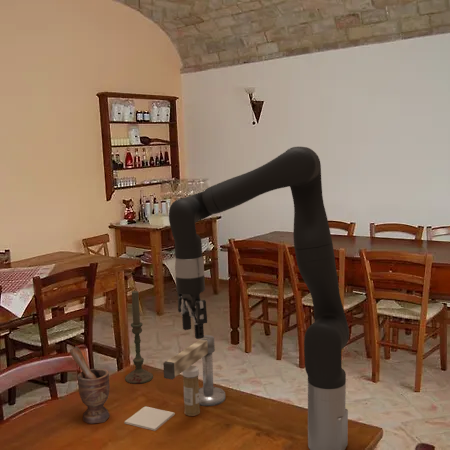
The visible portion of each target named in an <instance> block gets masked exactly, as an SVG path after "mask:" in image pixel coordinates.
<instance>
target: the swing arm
mask: <svg viewBox="0 0 450 450" xmlns="http://www.w3.org/2000/svg"><path fill="white" fill-rule="evenodd" d="M215 346H216V345H215V337H214V336H213V335H206V334H204V337H203V338H200V339H197V340H196V341H195V342H193V343H192V344H191V345H189V346H188V347H186V348H185V349H183V350H182V351H180V352H179V353H177V354H176V355H174V356H173V357H171V358H169V359H168V360H167V361H164V362H162V363H163V378H164V379H166V380H171V381H172V380H174V379H175V378H176V377H177V376H179V375H180V374H182V373H183V371H184V370H186V369H187V368H188V367H190V366H194V364H196V362H198V361H199V360H201V359H202V357H204V356H205V355H206V354H208V353H212V354H213V353H214V352H215V350H216V347H215Z"/></svg>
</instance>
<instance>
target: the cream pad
mask: <svg viewBox="0 0 450 450" xmlns="http://www.w3.org/2000/svg"><path fill="white" fill-rule="evenodd" d="M175 414H176V413H175V412H173V411H168V410H164V409H159V408H156V407H155V408H154V407H151V406H150V407H149V406H146V405H145V406H144V407H142V408H141V409H139V410H138V411H136V412H135V413H134V414H133V415H131V416H130V417H128V418H127V419H126V420H124V424H125V425H130V426H134V427H138V428H140V429H141V428H142V429H146V430H149V431H154V432H156V431H157V430H158V429H159V428H161V427H162V426H164V424H165V423H166V422H168V421H169V420H170V419H171V418H173V417H174V416H175Z"/></svg>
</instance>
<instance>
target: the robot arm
mask: <svg viewBox="0 0 450 450" xmlns="http://www.w3.org/2000/svg"><path fill="white" fill-rule="evenodd" d="M322 185H323V184H322V165H321V160H320V158H319V156H318V154H317V153H316V152H315V151H314V150H313V149H312V148H309V147H306V146H293V147H290V148H288V149H287V150H285V151H284V152H283V153H281V154H280V155H277V156H276V157H275V158H273V159H271V160H270V161H269V162H267V163H265V164H263V165H261V166H259V167H257V168H254V169H252V170H250V171H248V172H246V173H243V174H240V175H237V176H234V177H231V178H229V179H226V180H223V181H221V182H219V183H216V184H214V185H212V186H209V187H207V188H206V189H205V190H203V191H200V192H197V193H195V194H192V195H190V196H189V195H188V196H186V197H183V198H178V199H176V200H174V201H173V202H172V203H171V204H170V206H169V209H168V222H169V226H170V230H171V233H172V237H173V240H174V254H175V255H174V257H175V261H174V264H175V265H174V271H175V273H174V274H175V288H176V289H175V290H176V293H177V312H178V313H180V317H181V318H182V321H181V322H182V330H183V331H189V330H191V329H192V321H193V324H194V326H193V328H194V338H195V339H197V340H199V339H200V338H203V337H204V336H205V332H204V331H205V330H204V324H207V323H208V312H207V301H206V299H201V296H200V294H202V293H203V292H205V290H206V284H205V283H206V282H205V264H204V259H203V246H202V245H203V243H202V242H203V241H202V237H201V236H200V235H199V234H197V228H196V223H197V222H200V221H202V220H204V219H207V218H209V217H210V216H212V215H215V214H216V215H217V214H220V213H224V212H226V211H228V210H230V209H233V208H237V207H239V206H241V205H243V204H244V203H247V202H248V201H250V200H253V199H254V198H257V197H259V196H261V195H263V194H266V193H269V192H271V191H275V190H278V189H283V188H284V189H285V188H288V187H289V188H290V191H291V196H292V201H293V234H292V235H293V246H294V247H293V248H294V253H295V259H296V265H297V268H298V271H299V273H300V276H301V277H302V279H303V281H304V284H305V285H306V287H307V289H308V292H309V293H310V295H311V300H312V307H313V315H314V322H312V323H311V325H309V326H308V327H307V328H306V330H305V332H304V338H303V339H304V342H303V346H304V347H303V352H304V353H303V354H304V369H305V373H306V375H307V447H308V449H309V450H346V448H347V447H348V445H349V444H348V442H349V441H348V440H349V439H348V436H349V434H348V432H349V430H348V429H349V425H348V424H349V423H348V422H349V421H348V419H349V418H348V417H349V416H348V415H349V411H348V409H347V408H346V404H347V403H346V400H347V398H346V390H347V388H346V387H347V386H346V385H347V383H346V382H347V381H346V380H347V379H346V378H347V377H346V370H345V369H344V368H342V363H343V362H342V350H343V349H344V348H345V346H347V344H348V342H349V338H350V328H349V323H348V320H347V317H346V312H345V309H344V306H343V302H342V299H341V298H342V297H341V293H340V287H339V280H338V279H339V278H338V271H337V267H336V257H335V250H334V245H333V238H332V235H331V229H330V224H329V220H328V215H327V212H326V208H325V204H324V203H325V202H324V198H323V197H324V196H323V186H322ZM191 318H192V319H191Z"/></svg>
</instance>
